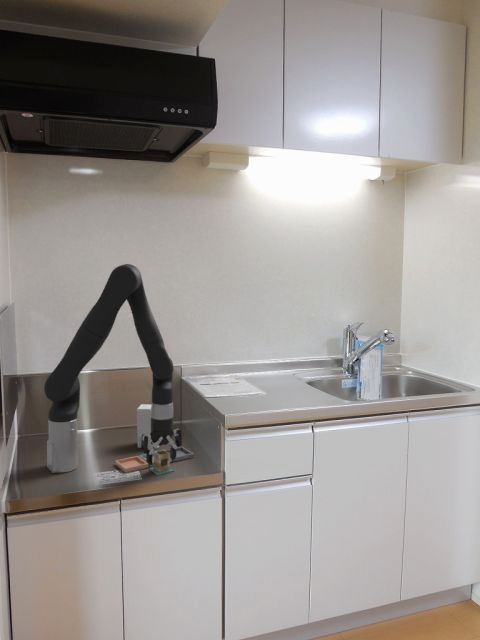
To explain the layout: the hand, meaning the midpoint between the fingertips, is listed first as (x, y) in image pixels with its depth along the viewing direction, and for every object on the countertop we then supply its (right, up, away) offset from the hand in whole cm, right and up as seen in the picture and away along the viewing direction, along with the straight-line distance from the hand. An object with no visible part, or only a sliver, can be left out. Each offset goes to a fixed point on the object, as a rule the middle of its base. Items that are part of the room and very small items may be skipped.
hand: (161, 461), depth 177 cm
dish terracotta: (-11, -2, +3) cm, 11 cm away
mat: (0, -3, 0) cm, 3 cm away
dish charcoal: (+4, -2, +14) cm, 14 cm away
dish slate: (-3, -2, +8) cm, 9 cm away
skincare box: (-8, 0, +23) cm, 25 cm away
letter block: (0, -3, 0) cm, 3 cm away
